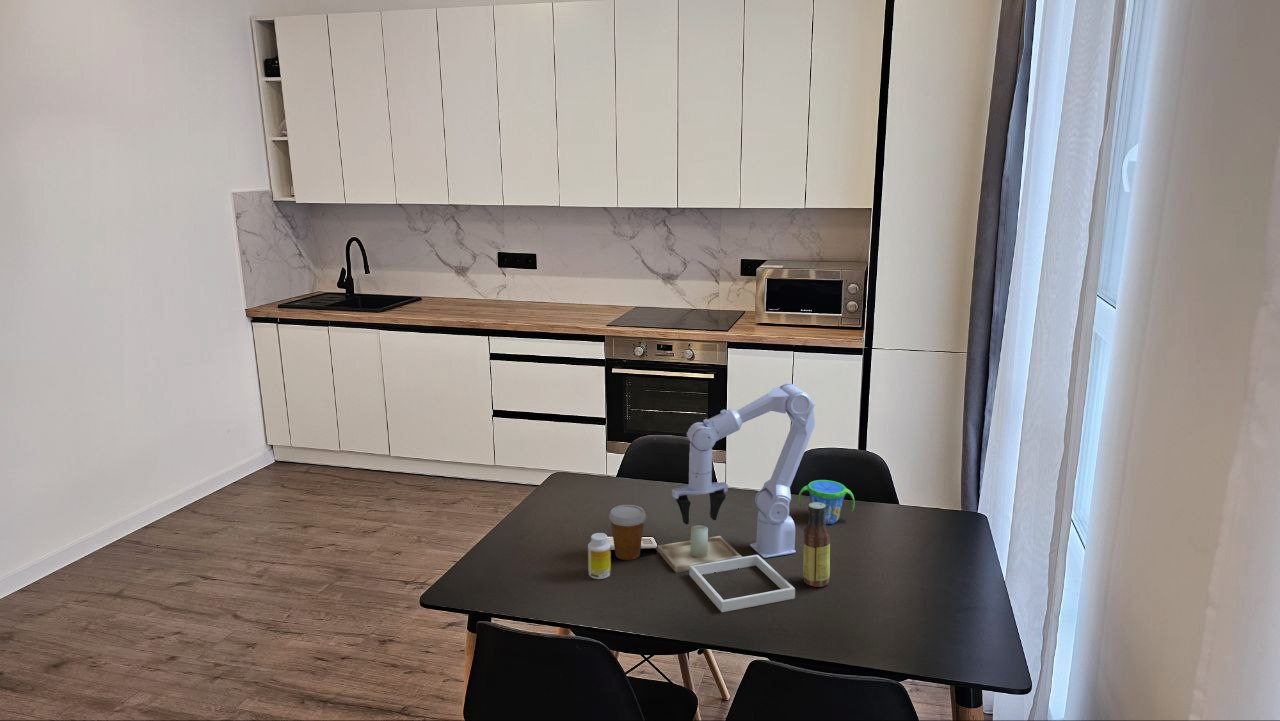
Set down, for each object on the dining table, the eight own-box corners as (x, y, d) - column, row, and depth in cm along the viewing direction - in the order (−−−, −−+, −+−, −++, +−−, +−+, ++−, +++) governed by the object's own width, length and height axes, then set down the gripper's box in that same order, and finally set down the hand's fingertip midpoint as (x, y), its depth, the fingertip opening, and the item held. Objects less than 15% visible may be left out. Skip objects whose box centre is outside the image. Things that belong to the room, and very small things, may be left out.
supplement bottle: (614, 576, 203) (614, 538, 201) (594, 582, 200) (594, 543, 198) (604, 567, 208) (604, 529, 206) (584, 572, 205) (583, 534, 203)
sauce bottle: (830, 578, 202) (834, 502, 198) (827, 590, 197) (831, 511, 192) (803, 574, 204) (807, 498, 200) (799, 585, 199) (803, 508, 194)
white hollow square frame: (757, 563, 210) (757, 554, 209) (794, 598, 193) (795, 588, 192) (689, 575, 204) (689, 565, 203) (721, 612, 187) (722, 602, 186)
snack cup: (853, 515, 239) (856, 482, 237) (852, 530, 229) (855, 496, 227) (799, 509, 243) (800, 477, 241) (795, 524, 233) (797, 490, 231)
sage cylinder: (705, 549, 216) (706, 524, 215) (709, 557, 212) (709, 532, 210) (689, 550, 216) (689, 525, 214) (692, 558, 211) (692, 533, 210)
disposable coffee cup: (642, 564, 209) (642, 520, 207) (605, 561, 211) (604, 517, 208) (649, 548, 218) (649, 505, 216) (613, 545, 220) (613, 502, 217)
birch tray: (719, 540, 223) (720, 535, 222) (741, 561, 211) (741, 556, 210) (657, 550, 217) (657, 545, 217) (675, 573, 205) (676, 567, 205)
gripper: (719, 461, 215) (718, 511, 218) (667, 468, 210) (667, 518, 213) (731, 471, 208) (730, 521, 211) (678, 478, 203) (677, 529, 206)
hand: (699, 520), depth 212 cm, fingers open, 7 cm apart
